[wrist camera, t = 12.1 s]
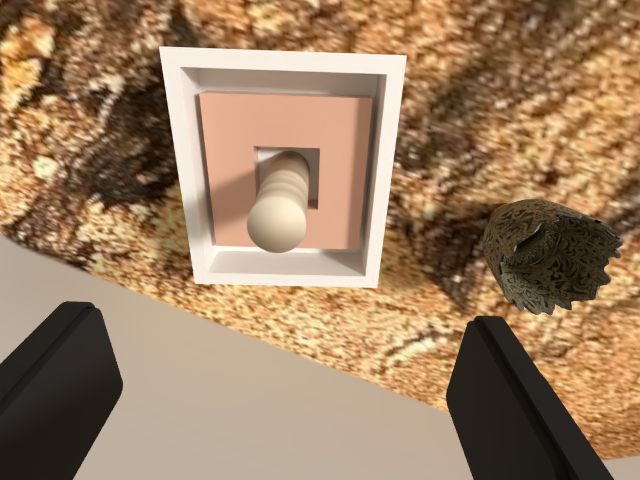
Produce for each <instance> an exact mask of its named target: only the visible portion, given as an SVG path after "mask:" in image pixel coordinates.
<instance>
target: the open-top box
mask: <svg viewBox="0 0 640 480" xmlns="http://www.w3.org/2000/svg"><path fill="white" fill-rule="evenodd" d="M159 49H160V56H161V63H162V69H163V76H164V82H165V89H166V96H167V102H168V109H169V115H170V122H171V128H172V135H173V142H174V148H175V155H176V161H177V168H178V174H179V181H180V188H181V194H182V201H183V207H184V214H185V220H186V227H187V234H188V240H189V247H190V253H191V260H192V267H193V273H194V280H195V284H237V285H281V286H325V287H369V288H377V286H378V278H379V270H380V262H381V254H382V246H383V238H384V230H385V223H386V215H387V207H388V199H389V191H390V183H391V175H392V167H393V160H394V152H395V144H396V136H397V128H398V120H399V112H400V104H401V96H402V89H403V81H404V73H405V65H406V57H407V56H404V55H377V54H349V53H322V52H294V51H266V50H239V49H211V48H184V47H159ZM206 90H225V91H255V92H284V93H314V94H343V95H369V96H370V97H371V98H372V110H371V121H370V132H369V142H368V153H367V164H366V175H365V185H364V196H363V207H362V218H361V229H360V239H359V250H356V249H316V248H294V249H292V250H290V251H288V252H284V253H272V252H268V251H265V250H263V249H261V248H259V247H236V246H216V238H215V229H214V220H213V211H212V203H211V194H210V185H209V176H208V167H207V158H206V150H205V141H204V132H203V123H202V114H201V105H200V96H199V93H200V92H203V91H206ZM284 151H294V152H297V153H299V154H301V155H302V156H303V157H304V158H305V159H306V160H307V162H308V165H309V169H310V173H309V188H308V200H318V184H319V152H320V148H298V147H265V146H258V157H259V178H260V187H261V185H262V183H263V180H264V178H265V176H266V173H267V171H268V169H269V166H270V164H271V162H272V160H273V158H274V157H275V156H276V155H277V154H279V153H281V152H284Z"/></svg>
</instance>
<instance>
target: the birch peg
mask: <svg viewBox="0 0 640 480" xmlns="http://www.w3.org/2000/svg"><path fill="white" fill-rule="evenodd" d="M309 173H310V169H309V165H308V162H307V160H306V159H305V158H304V157H303V156H302V155H301V154H299V153H297V152H294V151H284V152H281V153H279V154H277V155H276V156H275V157H274V158H273V160H272V162H271V164H270V166H269V169H268V171H267V173H266V176H265V178H264V180H263V183H262V185H261V187H260V190H259V192H258V195H257V197H256V199H255V202H254V204H253V206H252V209H251V211H250V213H249V216H248V219H247V231H248V234H249V237H250V238H251V240H252V241H253V242H254V243H255V244H256V245H257V246H258V247H259V248H261V249H263V250H265V251H268V252H272V253H284V252H288V251H290V250H292V249H294V248H296V247H297V246H298V245H299V244H300V243H301V242H302V240H303V238H304V236H305V232H306V219H307V204H308V188H309Z"/></svg>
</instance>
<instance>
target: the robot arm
mask: <svg viewBox="0 0 640 480" xmlns="http://www.w3.org/2000/svg"><path fill="white" fill-rule="evenodd" d="M122 389H123V381H122V378H121V375H120V371H119V368H118V365H117V362H116V358H115V355H114V352H113V349H112V345H111V342H110V339H109V336H108V332H107V329H106V326H105V323H104V319H103V316H102V313H101V311H100V310H99V309H97V308H95V306H94V305H93V304H92V303H90V302H68V301H66V302H63V303H62V304H60V305H59V306H58V307H57V308H56V309H55V310H54V311H53V312H52V313H51V314H50V315H49V316H48V317H47V318H46V319H45V320H44V321H43V322H42V323H41V324H40V325H39V326H38V327H37V328H36V329H35V330H34V331H33V332H32V333H31V334H30V335H29V336H28V337H27V338H26V339H25V340H24V341H23V342H22V343H21V344H20V345H19V346H18V347H17V348H16V349H15V350H14V351H13V352H12V353H11V354H10V355H9V356H8V357H7V358H6V359H5V360H4V361H3V362H2V363H1V364H0V480H73V478H74V476H75V475H76V473H77V471H78V469H79V468H80V466H81V464H82V462H83V461H84V459H85V457H86V455H87V454H88V452H89V450H90V448H91V446H92V445H93V443H94V441H95V440H96V438H97V436H98V434H99V433H100V431H101V429H102V427H103V426H104V424H105V422H106V420H107V419H108V417H109V415H110V413H111V411H112V410H113V408H114V406H115V405H116V403H117V401H118V399H119V397H120V395H121V393H122ZM446 401H447V406H448V409H449V412H450V415H451V417H452V420H453V423H454V426H455V429H456V431H457V434H458V437H459V440H460V443H461V445H462V448H463V451H464V454H465V457H466V459H467V462H468V465H469V468H470V471H471V473H472V476H473V479H474V480H614V479H613V477H612V476H611V474H610V473H609V471H608V470H607V468H606V467H605V466H604V464H603V462H602V461H601V459H600V458H599V457H598V455H597V454H596V452H595V451H594V449H593V448H592V446H591V445H590V443H589V442H588V440H587V439H586V437H585V436H584V434H583V433H582V432H581V430H580V429H579V427H578V426H577V424H576V423H575V421H574V420H573V418H572V417H571V415H570V414H569V412H568V411H567V409H566V408H565V407H564V405H563V404H562V402H561V401H560V399H559V398H558V396H557V395H556V393H555V392H554V390H553V389H552V387H551V386H550V384H549V383H548V382H547V380H546V379H545V378H544V377H543V375H542V374H541V373H540V372H539V370H538V369H537V367H536V366H535V364H534V363H533V361H532V360H531V358H530V357H529V355H528V354H527V352H526V351H525V349H524V348H523V346H522V345H521V343H520V342H519V340H518V339H517V337H516V336H515V335H514V333H513V332H512V330H511V329H510V327H509V326H508V324H507V323H506V321H505V320H504V319H503V318H502V317H500V316H476V317H475V319H474V321H469V322H468V324H467V327H466V330H465V333H464V336H463V340H462V343H461V346H460V349H459V353H458V356H457V359H456V362H455V366H454V369H453V372H452V375H451V379H450V382H449V385H448V388H447V392H446Z"/></svg>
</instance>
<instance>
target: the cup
mask: <svg viewBox="0 0 640 480" xmlns="http://www.w3.org/2000/svg"><path fill="white" fill-rule="evenodd" d="M610 229H611V227H610V226H609V225H607V224H605V223H604V222H601V221H598V220H596V219H595V218H592V217H590V216H587V215H585V214H582V213H580V212H578V211H575V210H573V209H570V208H568V207H565V206H562V205H560V204H557V203H554V202H550V201H546V200H539V199H528V200H521V201H517V202H514V203H507V204H503V205H501V206H499V207H497V208H496V209H494V210H493V211H492V212H491V213H490V215H489V216H488V218H487V221H486V228H485V231H484V235H483V251H484V255H485V258H486V261H487V263H488V265H489V267H490V269H491V271H492V273H493V275H494V277H495V279H496V280H497V282H498V284H499V286H500V287H501V289H502V291H503V294H504V296H505V297H506V299H507V300H508V301H512V302H513V303H514V305H515V306H516V307H517V308H518V309H519V310H520V311H523V310H524V307H525V308H526V309H527V310H528V311H530V312H531V313H533V314H535V315H539V314H541V312H545V313H546V314H548V315H552V314H553V311H554V309H555V304H556V305H558V306H560V307H561V308H565V309H567V310H572V305H571V302H572V301H580V302H583V301H588V300H594V299H595V298H596V297H597V295H598V290H599V288H600V286H603V285H607V284H609V283H610V282H611V278H610V276H609V275H608V274H606V272H605V271H604V268H605V266H606V265H608V264H609V259H608V258H610V257H616V258H619V259H620V257H621V255H620V253H619V252H618V251H617V250H616V249H617V248H619V247H620V246H622V245H623V243H622V241H621V240H620V239H619V238H618V237H617V236H616V235H615V234H613V233H612V232H610V231H609V230H610ZM615 248H616V249H615Z"/></svg>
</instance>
